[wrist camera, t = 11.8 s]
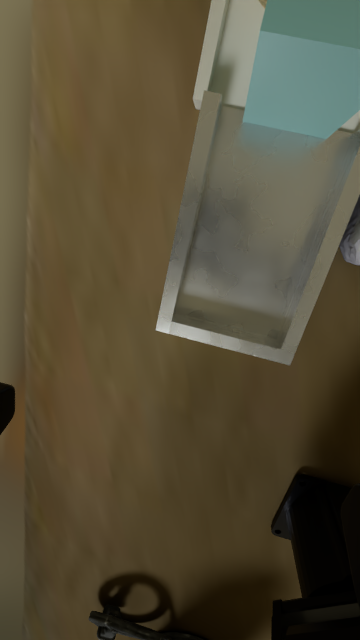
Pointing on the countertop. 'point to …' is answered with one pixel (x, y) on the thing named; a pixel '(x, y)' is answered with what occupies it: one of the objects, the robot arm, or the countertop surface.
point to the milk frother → (128, 627)
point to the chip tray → (235, 55)
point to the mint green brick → (306, 67)
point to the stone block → (352, 237)
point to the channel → (256, 232)
